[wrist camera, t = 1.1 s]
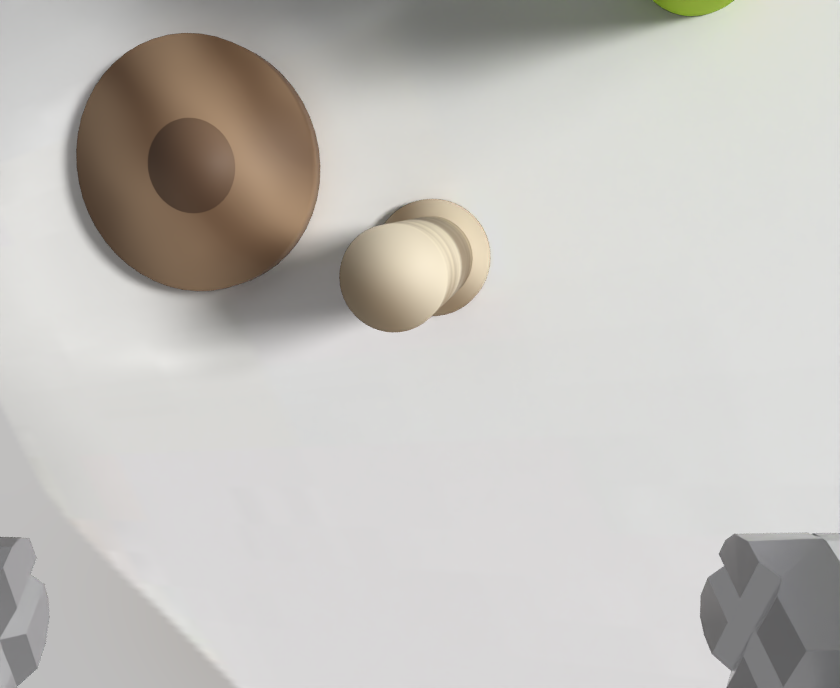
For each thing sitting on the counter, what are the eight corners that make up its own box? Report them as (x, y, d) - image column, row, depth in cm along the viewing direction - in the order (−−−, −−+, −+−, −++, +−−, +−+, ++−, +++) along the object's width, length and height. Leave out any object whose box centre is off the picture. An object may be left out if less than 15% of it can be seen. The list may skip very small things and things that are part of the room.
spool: (433, 174, 43) (391, 169, 32) (514, 258, 43) (499, 281, 32) (354, 255, 45) (289, 276, 34) (432, 336, 45) (392, 382, 34)
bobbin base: (194, -18, 43) (180, -25, 42) (370, 166, 43) (363, 165, 42) (47, 167, 47) (30, 166, 45) (211, 335, 47) (200, 340, 46)
